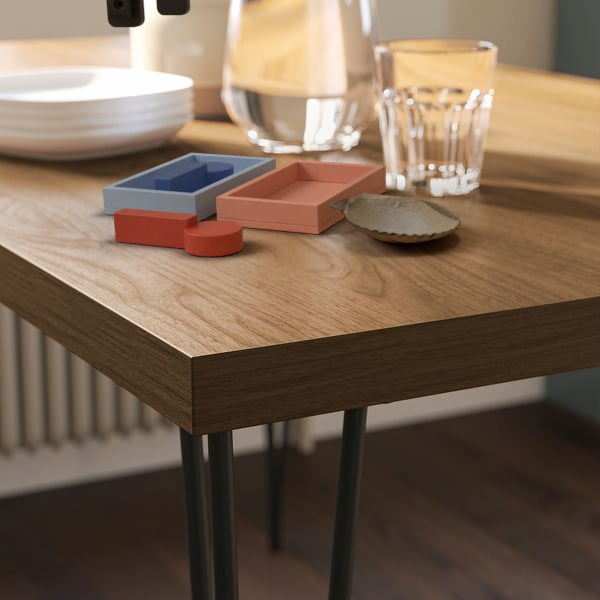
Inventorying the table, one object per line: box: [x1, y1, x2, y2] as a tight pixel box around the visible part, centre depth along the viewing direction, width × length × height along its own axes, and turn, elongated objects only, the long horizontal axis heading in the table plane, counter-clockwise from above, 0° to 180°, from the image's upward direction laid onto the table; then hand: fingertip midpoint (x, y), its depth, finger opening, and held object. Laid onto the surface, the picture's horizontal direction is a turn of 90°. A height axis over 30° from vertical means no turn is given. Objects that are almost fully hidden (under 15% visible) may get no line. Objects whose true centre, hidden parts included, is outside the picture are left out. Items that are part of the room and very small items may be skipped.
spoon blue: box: [154, 162, 234, 193], centre depth 89 cm, size 9×4×2 cm, turn 156°
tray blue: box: [102, 152, 277, 222], centre depth 90 cm, size 13×8×2 cm, turn 156°
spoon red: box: [113, 208, 244, 258], centre depth 77 cm, size 9×4×2 cm, turn 66°
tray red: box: [216, 159, 387, 235], centre depth 86 cm, size 13×8×2 cm, turn 156°
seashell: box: [329, 192, 461, 245], centre depth 77 cm, size 8×3×8 cm
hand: (151, 20), depth 77 cm, fingers open, 8 cm apart
